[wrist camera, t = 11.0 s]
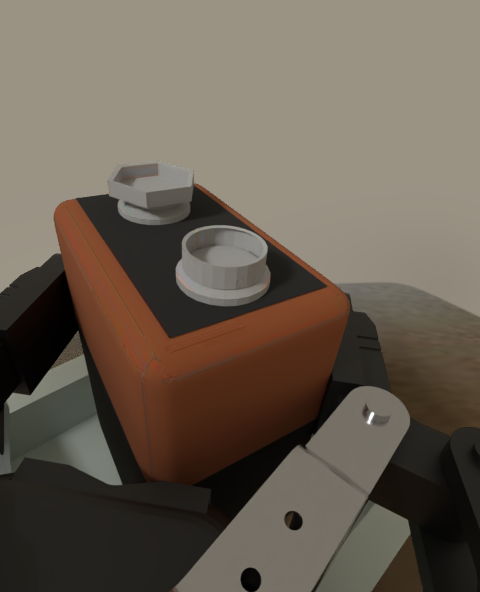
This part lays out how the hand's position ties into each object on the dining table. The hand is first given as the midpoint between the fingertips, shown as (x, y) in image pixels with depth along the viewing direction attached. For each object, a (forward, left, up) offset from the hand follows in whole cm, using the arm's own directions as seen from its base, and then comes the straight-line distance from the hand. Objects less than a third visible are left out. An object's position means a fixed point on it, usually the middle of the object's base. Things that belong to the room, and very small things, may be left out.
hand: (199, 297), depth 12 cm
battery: (-2, -1, -6) cm, 7 cm away
